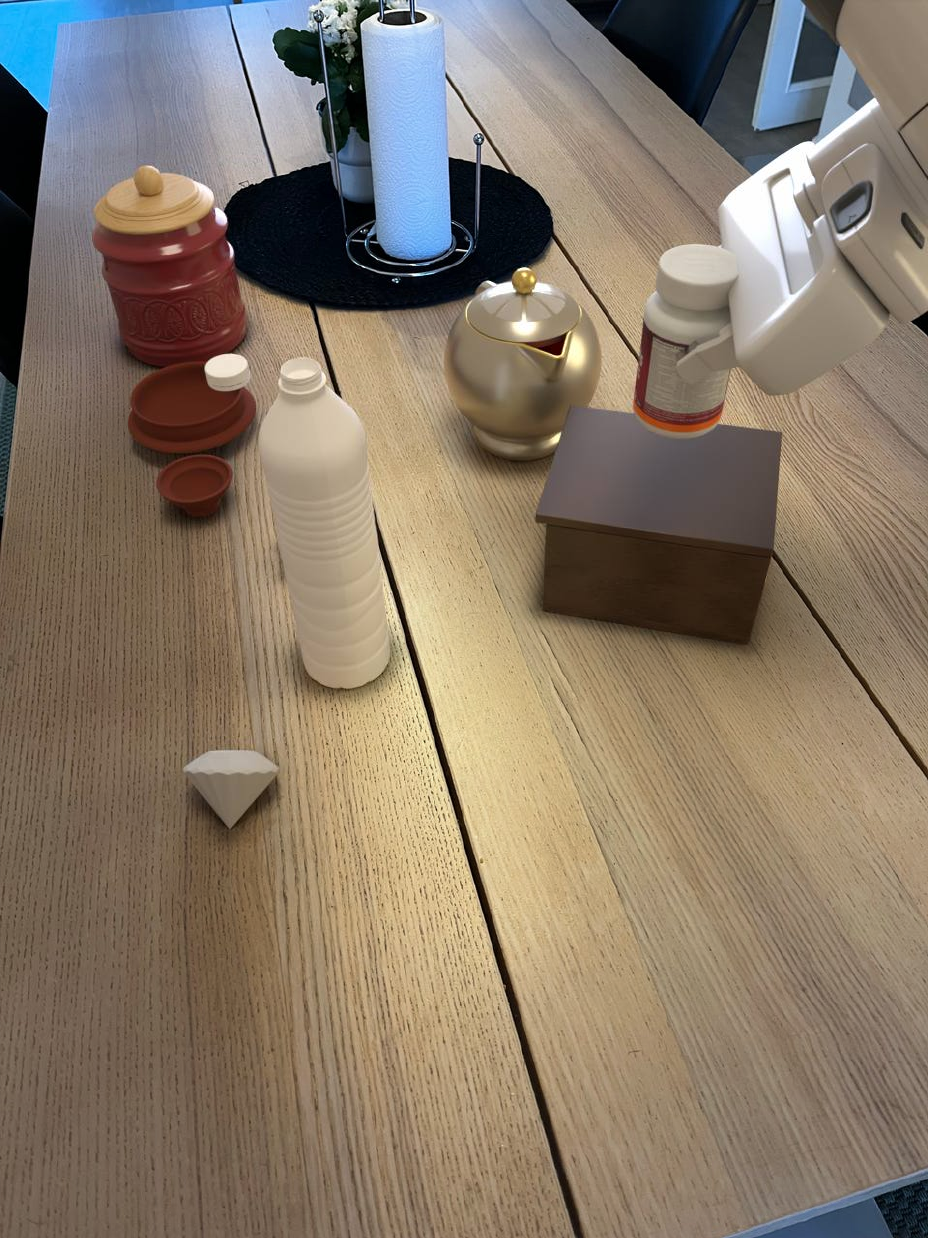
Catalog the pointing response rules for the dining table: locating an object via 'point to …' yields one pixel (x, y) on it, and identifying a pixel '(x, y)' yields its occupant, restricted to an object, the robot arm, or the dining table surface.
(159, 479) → the pottery
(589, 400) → the teapot
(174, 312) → the kitchen canister
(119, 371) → the dining table surface
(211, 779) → the gemstone
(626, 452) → the lid
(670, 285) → the pill bottle
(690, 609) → the chest
